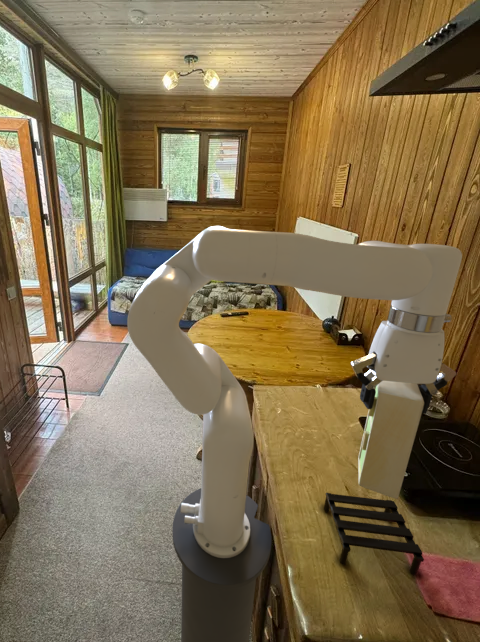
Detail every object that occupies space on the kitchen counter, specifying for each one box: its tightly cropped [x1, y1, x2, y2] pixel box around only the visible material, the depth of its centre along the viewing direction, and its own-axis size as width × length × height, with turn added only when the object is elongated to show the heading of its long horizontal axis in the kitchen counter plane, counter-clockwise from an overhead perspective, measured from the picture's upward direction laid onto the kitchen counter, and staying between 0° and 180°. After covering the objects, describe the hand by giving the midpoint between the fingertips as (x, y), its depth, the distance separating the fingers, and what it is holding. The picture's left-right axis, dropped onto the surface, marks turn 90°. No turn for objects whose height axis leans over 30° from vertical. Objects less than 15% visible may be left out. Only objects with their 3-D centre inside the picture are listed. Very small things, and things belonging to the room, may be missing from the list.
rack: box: [323, 492, 425, 576], centre depth 63 cm, size 14×12×5 cm
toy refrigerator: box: [357, 381, 424, 500], centre depth 59 cm, size 8×7×21 cm
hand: (392, 406), depth 57 cm, fingers closed on toy refrigerator, 8 cm apart
